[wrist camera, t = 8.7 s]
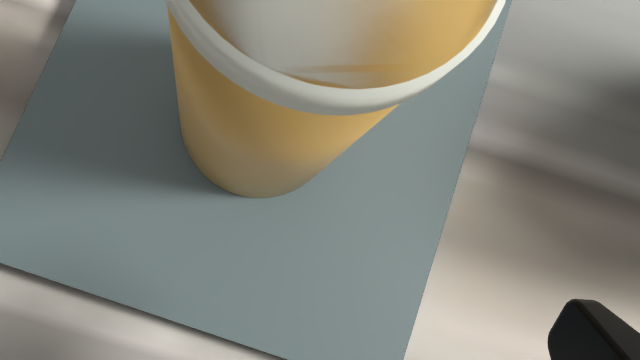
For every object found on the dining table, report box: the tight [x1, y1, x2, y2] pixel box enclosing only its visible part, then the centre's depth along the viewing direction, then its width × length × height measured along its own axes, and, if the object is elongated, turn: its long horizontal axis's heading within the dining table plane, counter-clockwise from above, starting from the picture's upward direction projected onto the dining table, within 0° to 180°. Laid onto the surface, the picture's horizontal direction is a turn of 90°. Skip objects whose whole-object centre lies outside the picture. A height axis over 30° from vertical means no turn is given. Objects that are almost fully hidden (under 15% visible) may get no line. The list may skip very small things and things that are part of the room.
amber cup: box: [166, 0, 506, 198], centre depth 12 cm, size 5×5×10 cm
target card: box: [0, 0, 512, 360], centre depth 17 cm, size 14×12×1 cm
